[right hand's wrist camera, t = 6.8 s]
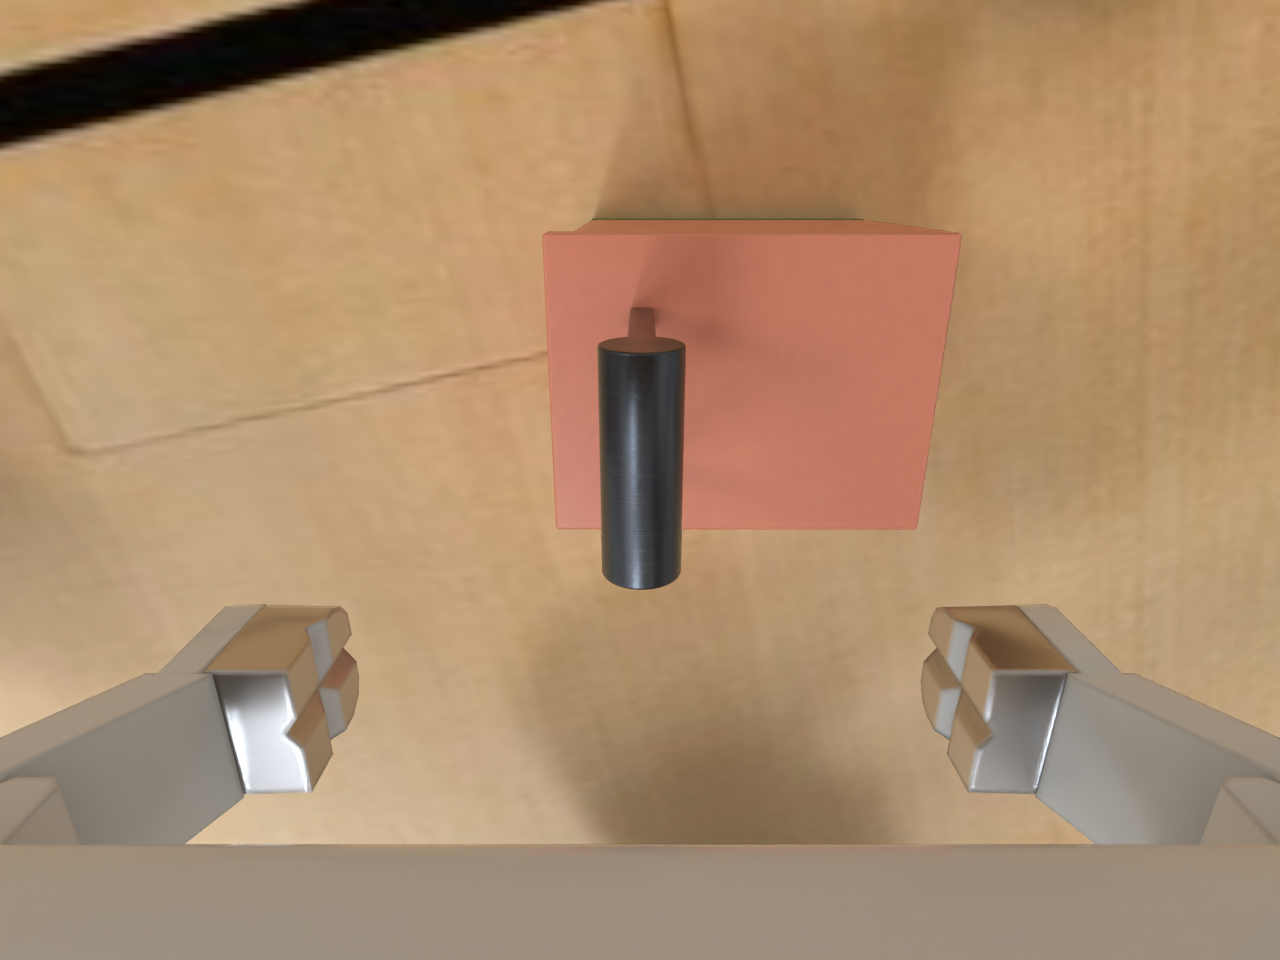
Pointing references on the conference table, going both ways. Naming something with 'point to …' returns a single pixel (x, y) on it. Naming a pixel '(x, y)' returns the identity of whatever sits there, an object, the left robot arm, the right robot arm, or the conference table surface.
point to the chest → (743, 225)
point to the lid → (740, 382)
